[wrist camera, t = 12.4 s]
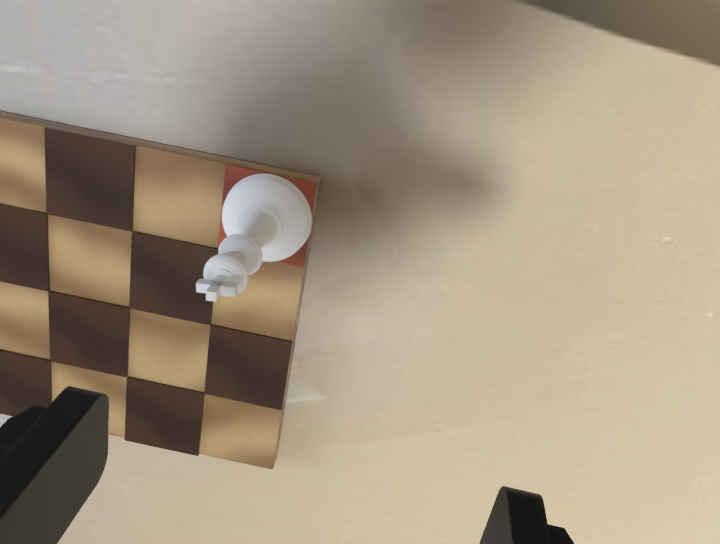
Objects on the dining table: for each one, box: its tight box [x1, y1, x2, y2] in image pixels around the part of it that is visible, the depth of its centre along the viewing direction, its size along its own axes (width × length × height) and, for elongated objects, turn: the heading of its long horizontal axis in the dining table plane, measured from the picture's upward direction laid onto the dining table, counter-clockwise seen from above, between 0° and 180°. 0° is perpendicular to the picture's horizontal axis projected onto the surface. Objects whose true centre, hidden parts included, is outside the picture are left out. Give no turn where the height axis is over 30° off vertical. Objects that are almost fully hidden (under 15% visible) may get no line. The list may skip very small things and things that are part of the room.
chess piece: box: [196, 174, 312, 302], centre depth 31 cm, size 5×5×10 cm
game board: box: [0, 111, 321, 469], centre depth 40 cm, size 20×20×1 cm
